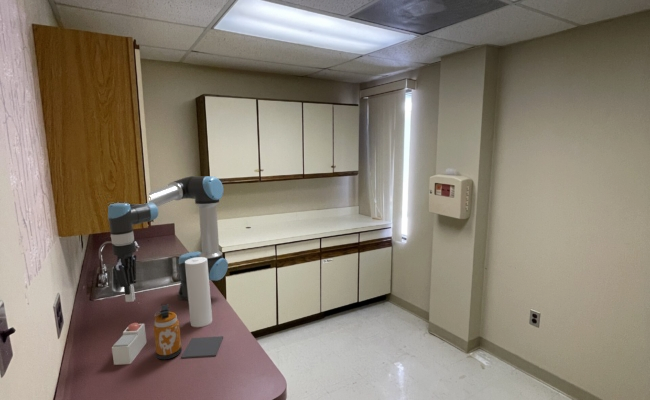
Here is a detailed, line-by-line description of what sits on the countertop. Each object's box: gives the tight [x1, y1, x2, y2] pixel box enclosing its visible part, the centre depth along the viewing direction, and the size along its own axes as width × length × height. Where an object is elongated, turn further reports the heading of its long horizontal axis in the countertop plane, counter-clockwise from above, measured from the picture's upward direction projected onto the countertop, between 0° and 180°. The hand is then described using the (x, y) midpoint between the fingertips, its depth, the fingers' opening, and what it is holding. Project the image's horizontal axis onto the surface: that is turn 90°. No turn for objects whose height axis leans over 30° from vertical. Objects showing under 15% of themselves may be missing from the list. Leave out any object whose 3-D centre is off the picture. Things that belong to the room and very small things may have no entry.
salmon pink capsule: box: [127, 322, 140, 331], centre depth 139 cm, size 4×4×8 cm
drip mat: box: [180, 335, 224, 359], centre depth 139 cm, size 13×13×1 cm
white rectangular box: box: [111, 323, 147, 366], centre depth 136 cm, size 14×6×8 cm, turn 4°
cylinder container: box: [185, 257, 213, 328], centre depth 157 cm, size 9×9×30 cm
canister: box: [153, 303, 183, 360], centre depth 135 cm, size 9×11×20 cm
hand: (130, 300), depth 137 cm, fingers closed
